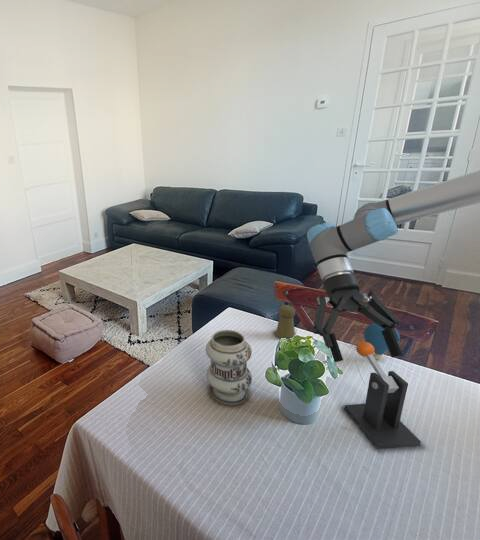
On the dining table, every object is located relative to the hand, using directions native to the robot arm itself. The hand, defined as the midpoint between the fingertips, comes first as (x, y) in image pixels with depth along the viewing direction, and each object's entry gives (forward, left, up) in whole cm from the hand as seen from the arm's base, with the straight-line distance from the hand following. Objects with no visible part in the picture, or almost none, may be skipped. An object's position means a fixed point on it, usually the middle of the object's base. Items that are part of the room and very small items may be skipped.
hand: (367, 358), depth 81 cm
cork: (+14, -32, -14) cm, 37 cm away
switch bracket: (-2, +6, -14) cm, 16 cm away
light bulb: (-10, -22, -14) cm, 28 cm away
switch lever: (-1, +2, -2) cm, 2 cm away
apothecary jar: (+32, +1, -14) cm, 35 cm away
